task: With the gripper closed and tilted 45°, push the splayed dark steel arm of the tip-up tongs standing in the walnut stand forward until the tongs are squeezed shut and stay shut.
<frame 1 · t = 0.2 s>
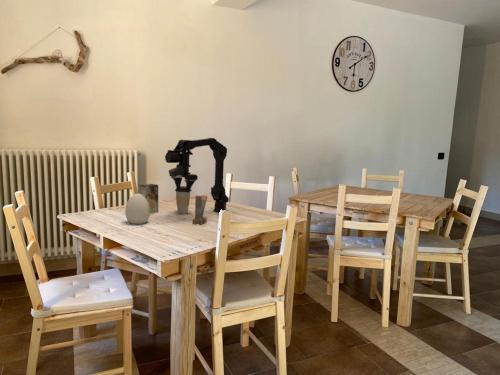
hand: (182, 191, 208), 15 cm above the table, tool pointing down, fingers open, 9 cm apart
coffee cup: (182, 212, 222), on the table
coffee box: (148, 212, 219), on the table
decorative egg: (137, 222, 195), on the table
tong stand: (199, 223, 199), on the table
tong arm: (202, 206, 201), point 8 cm above the table, hinge at -30.0°
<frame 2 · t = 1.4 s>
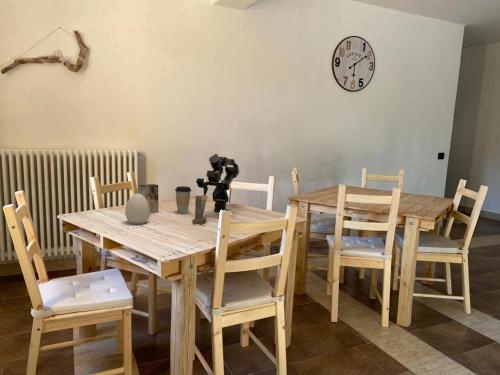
hand: (208, 196, 209), 13 cm above the table, tool tilted 45°, fingers open, 5 cm apart
nothing on the table moved.
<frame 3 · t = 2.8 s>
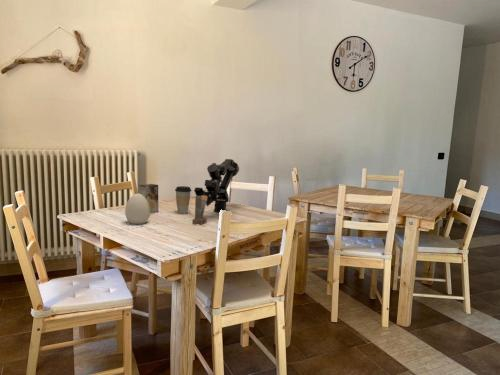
hand: (207, 205, 207), 8 cm above the table, tool tilted 45°, fingers closed
nothing on the table moved.
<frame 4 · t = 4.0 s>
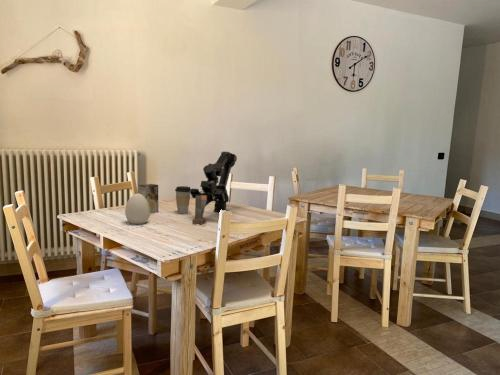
hand: (202, 207, 202), 8 cm above the table, tool tilted 45°, fingers closed, pressing on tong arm
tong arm: (202, 206, 200), point 8 cm above the table, hinge at -28.4°, touching gripper
everything else where it was.
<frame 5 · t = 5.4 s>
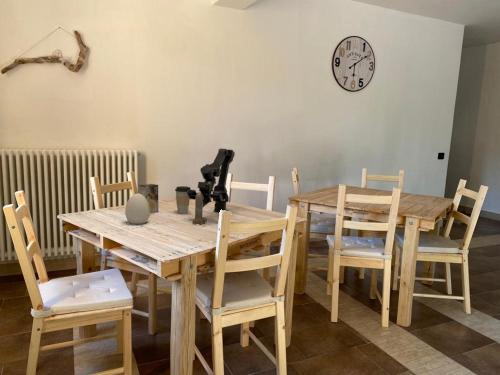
hand: (200, 208, 198), 8 cm above the table, tool tilted 45°, fingers closed, pressing on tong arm
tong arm: (199, 205, 197), point 9 cm above the table, hinge at 0.4°, touching gripper
everything else where it was.
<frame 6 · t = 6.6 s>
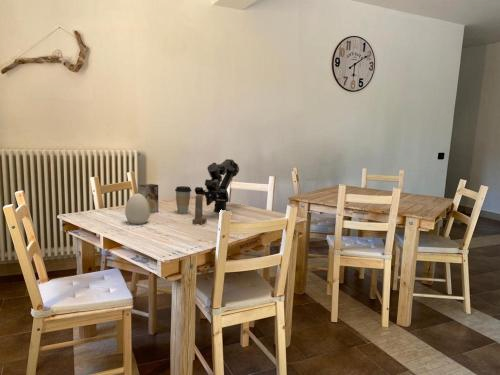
hand: (207, 205, 208), 8 cm above the table, tool tilted 45°, fingers closed
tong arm: (199, 205, 197), point 9 cm above the table, hinge at 0.4°
everything else where it was.
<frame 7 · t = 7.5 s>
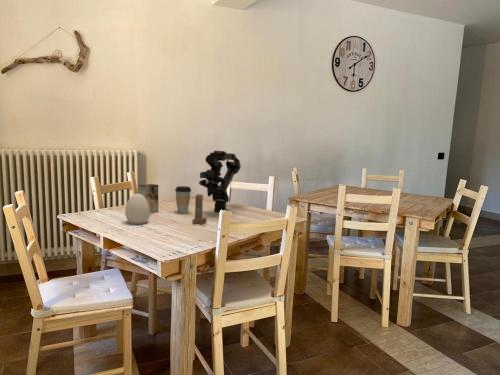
hand: (208, 196, 213), 12 cm above the table, tool tilted 30°, fingers closed
nothing on the table moved.
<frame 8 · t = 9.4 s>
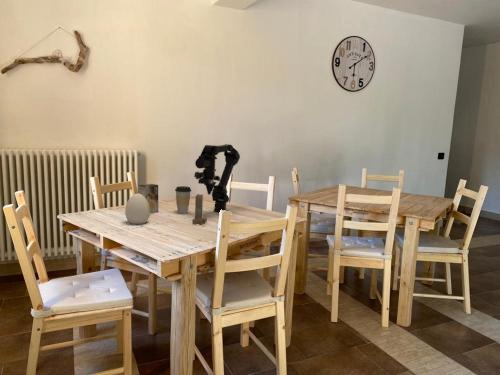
hand: (209, 194, 217), 12 cm above the table, tool pointing down, fingers closed
nothing on the table moved.
at the end: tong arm at +0° (first picture: -30°); coffee cup moved 0.2 cm from its start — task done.
